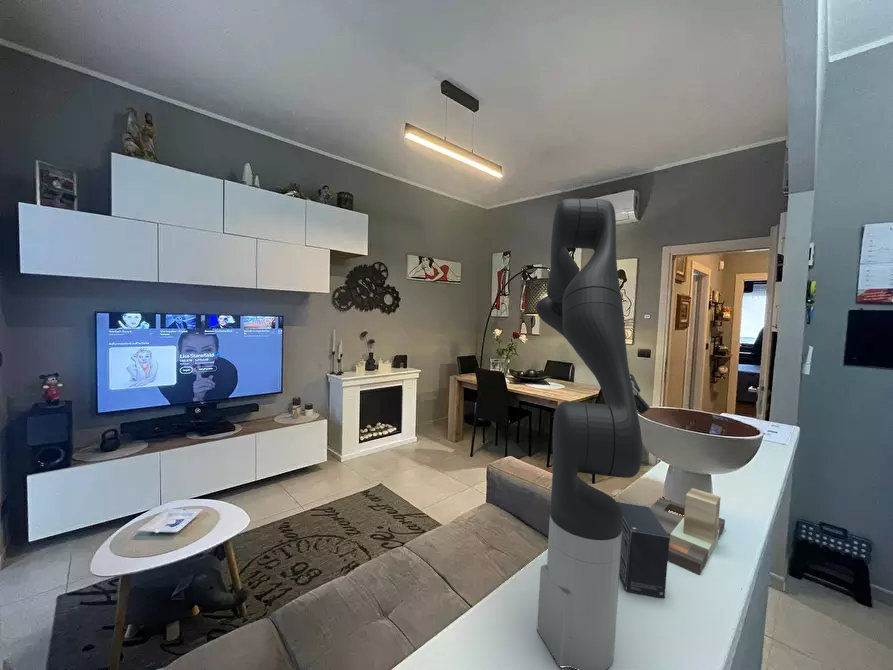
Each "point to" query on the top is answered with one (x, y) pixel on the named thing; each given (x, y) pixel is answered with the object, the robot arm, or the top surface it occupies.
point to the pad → (689, 539)
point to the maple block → (701, 515)
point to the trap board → (678, 555)
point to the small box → (643, 551)
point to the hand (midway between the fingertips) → (645, 411)
